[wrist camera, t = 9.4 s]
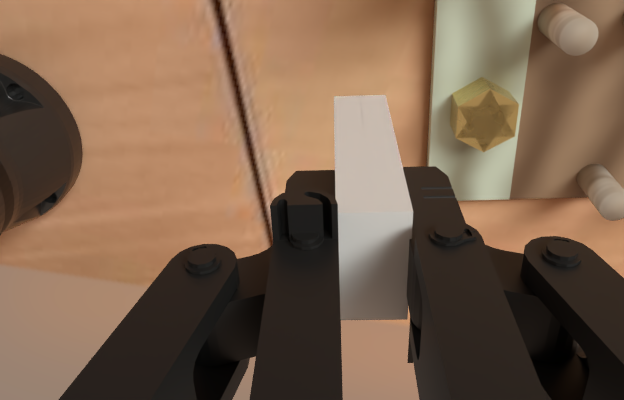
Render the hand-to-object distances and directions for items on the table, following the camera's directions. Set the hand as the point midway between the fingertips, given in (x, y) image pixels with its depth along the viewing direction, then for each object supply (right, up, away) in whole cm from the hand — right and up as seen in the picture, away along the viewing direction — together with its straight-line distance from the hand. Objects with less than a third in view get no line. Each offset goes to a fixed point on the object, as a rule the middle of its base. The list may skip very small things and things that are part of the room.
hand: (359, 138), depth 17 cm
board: (+20, +6, +29) cm, 35 cm away
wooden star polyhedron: (+12, +5, +28) cm, 31 cm away
